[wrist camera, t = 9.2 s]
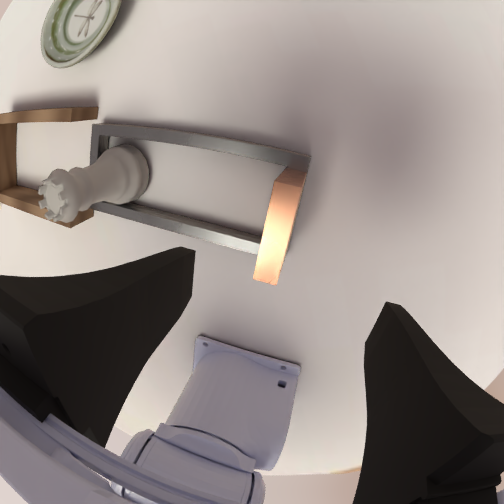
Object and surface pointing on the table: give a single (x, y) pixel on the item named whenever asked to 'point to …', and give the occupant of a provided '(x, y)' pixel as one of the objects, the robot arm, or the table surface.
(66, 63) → the saucer
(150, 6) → the table surface
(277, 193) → the frame
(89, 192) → the rook chess piece
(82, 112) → the walnut lane
